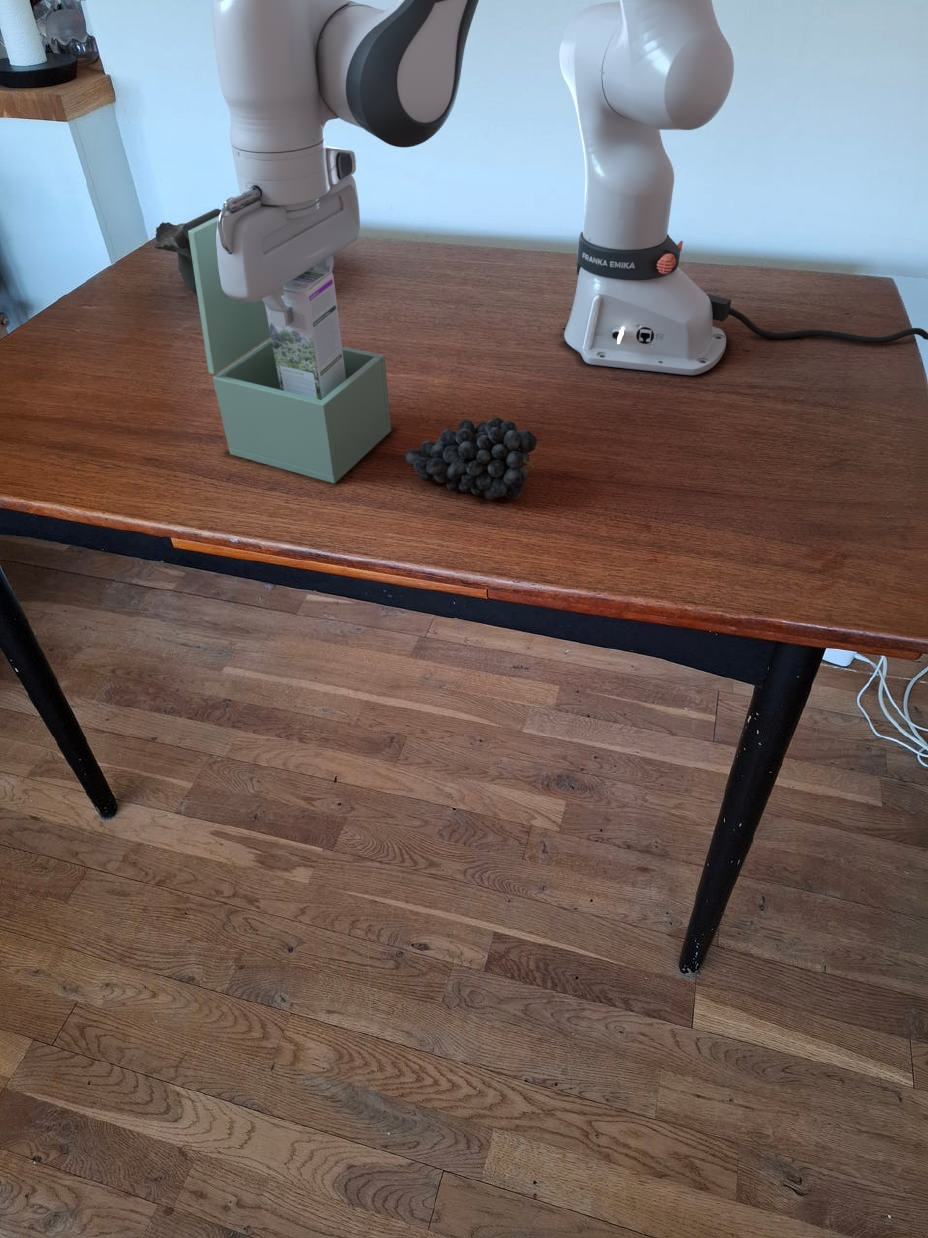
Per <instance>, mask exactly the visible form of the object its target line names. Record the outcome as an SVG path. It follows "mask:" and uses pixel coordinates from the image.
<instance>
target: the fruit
mask: <svg viewBox="0 0 928 1238" xmlns="http://www.w3.org/2000/svg"><path fill="white" fill-rule="evenodd" d="M457 430H458V431H456V430H454V429H451V428H447V429H444V430H443V431H442V432H441V433H440V437H439V438H438V439H437V441H436V443H435V442H434V441H432V440H424V441H423V442H421V445H420V446H419V449H416V448H411V449H408V450H407V452H406V453H405V462H406V463H407V464H408V465H409V466H411V467H413V470H414V471H415V473H416V474H418V476H419V479H421V480H422V481H423V482H424V483H427V482H431V481H433V479H434V481H436V482H437V483H438V484H444V483H445V485H446V488H447V490H448V491H450V492H457V491H458V490H460V491H461V492H462V493H467V494H468V493H470V492H471V493H472V494H473V495H475V496H478V497H479V496H482V497H484V498H485V500H488V501H495V500H496V499H497V498H501V497H504V496H505V497H506V498H507V499H509V500H516V499H518V498H519V497H520V496H521V494H522V492H523V489H524V487H525V482H527V480H528V476H529V472H528V470H527V468H526V467H525V466H528V467H530V468H531V469H534V468H535V467H534V465H533V463H531V462H530V459H531V458H530V454H529V453H532V452H533V451H534V450H535V448H536V446H537V442H538V438H537V436H536V435H534V433H533V432H532V431H531V430H529V429H522V430H520V431H518V428H517V425H516V423H515V422H513V421H511V420H504V418H502V417H498V416H495V417H493V418H492V419H490V420H489V421H481V422H479V423H478V424H477V425H476V426H475V423H474V422H473V421H472V420H471V419H462V420H461V421H460V422H459V423H458V426H457Z"/></svg>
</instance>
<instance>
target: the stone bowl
mask: <svg viewBox="0 0 928 1238" xmlns="http://www.w3.org/2000/svg"><path fill="white" fill-rule="evenodd" d="M183 226H184V224H183V225H177V224H173V223H171V222H170V221H169V222H168V221H167V222H163V221H162V222H161V223H160V224H159V225H158V226H157V227H155V239H156V242H157V243H155V245H153V248H154V249H158V250H165V251H168V252H172V253H177V261H178V262H177V263H178V264H177V265H178V270H179V273H180V276H181V278H182V280H183V282H184V284H185V285H186V287H187V288H189V290H190V291H191V292H193V293H194V294H197V289H196V282H195V275H194V268H193V261H192V254H191V248H190V241H189V239H187V237H186V236H185V235H184V232H183Z"/></svg>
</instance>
